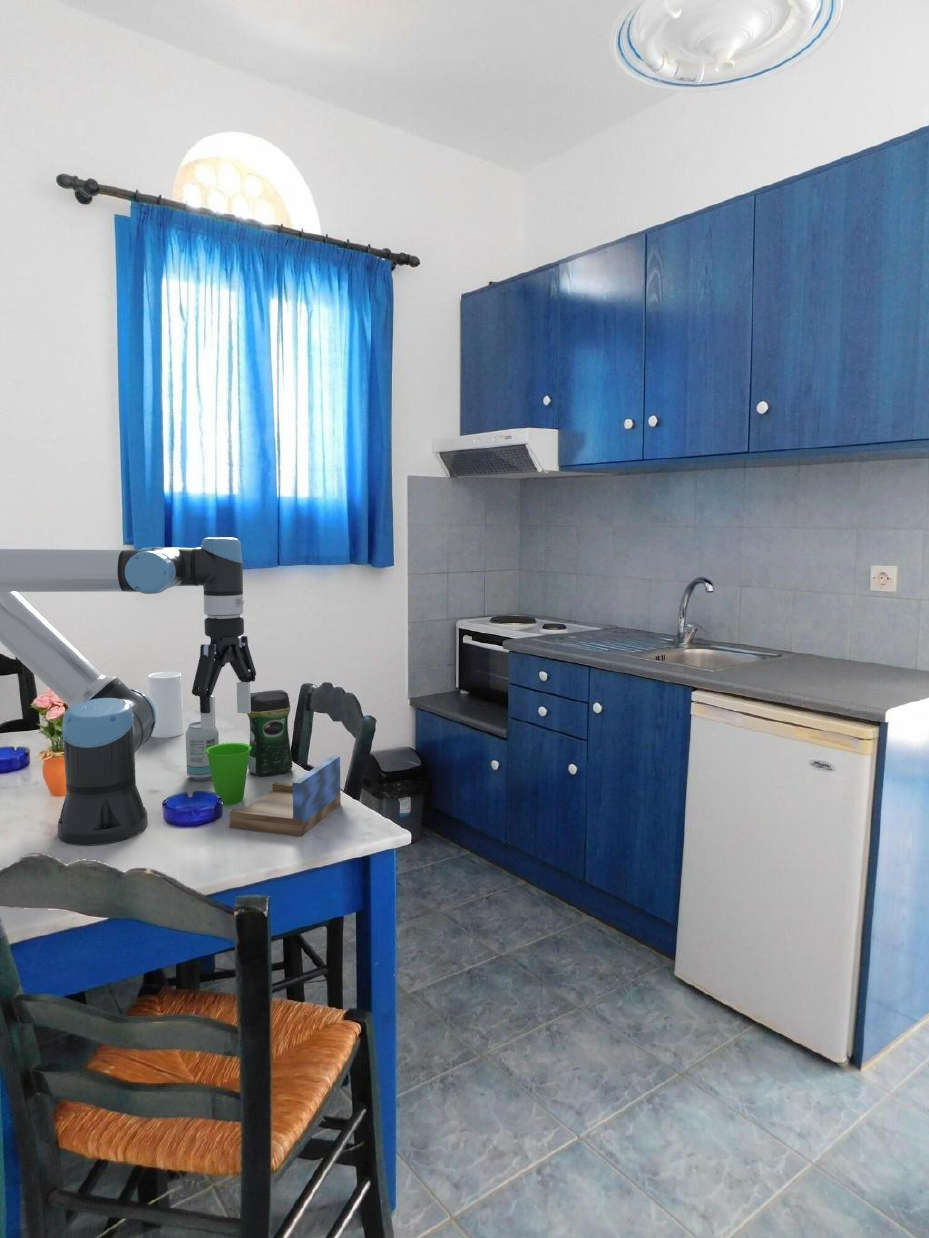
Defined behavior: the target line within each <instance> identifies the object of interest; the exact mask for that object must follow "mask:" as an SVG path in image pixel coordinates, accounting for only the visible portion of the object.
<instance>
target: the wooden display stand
mask: <svg viewBox="0 0 929 1238" xmlns="http://www.w3.org/2000/svg"><path fill="white" fill-rule="evenodd" d="M341 801H342V800H341V756H340V755H332V756H330V757H329V758H327V759H325V760H324V761H322V762H321V763H320V764H318V765H316V766H315V767H314V768H312V769H310V770H309V771H308V772H306V773H305V774H303V775H301V776H300V777H299V778H297V779H295V780H294V781H292V783H288V782H273V783H272V790H270V791H269V792H267V793H266V794H264V795H262V796H261V797H259V798H258V799H256V800H255V801H253V802H252V803H250V804H248V805H247V806H245V807H244V808H242V809H235V808H233V809H231V810H230V811H229V828H230V829H234V830H235V829H236V830H242V831H252V832H253V831H254V832H261V833H269V834H276V835H285V836H294V837H303V836H304V835H306V833H308V832H309V831H310V830H311V829H312V828H313V827H314V826H316V825H317V824H318V823H319V822H321V821H322V820H323V819H324V818H326V817H327V816H328V815H330V814H331V813H332V812H334V810H336V809H337V808H339V806H340V805H341V804H342V803H341Z"/></svg>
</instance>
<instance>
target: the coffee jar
mask: <svg viewBox="0 0 929 1238" xmlns="http://www.w3.org/2000/svg"><path fill="white" fill-rule="evenodd" d="M250 701H251V713H249V714H248V713H246V715H247V717H248V720H249V744H248V745H250V746H251V748H252V749H251V751H250V754H249V761H248V769H247V770H248V771H249V773H250V774H252V775H253V776H258V777H265V776H266V777H267V776H272V775H279V774H283V773H287V772H289V771H291V770H292V769H293V757H292V749H291V743H290V737H289V735H290V734H289V728H288V727H289V725H288V723H289V721H288V720H289V719H288V718H289V714H290V712H291V703H290V698H289V694H288V693H287V692H286V691H285V690H283V689H276V690H274V689H273V690H265V691H259V692H258V691H257V692H250Z"/></svg>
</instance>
